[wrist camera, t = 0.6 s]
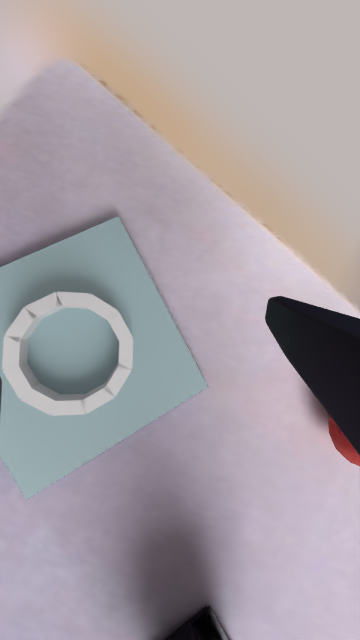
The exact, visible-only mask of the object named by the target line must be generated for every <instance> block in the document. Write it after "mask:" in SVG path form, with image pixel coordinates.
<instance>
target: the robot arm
mask: <svg viewBox="0 0 360 640" xmlns="http://www.w3.org/2000/svg"><path fill="white" fill-rule="evenodd" d="M265 320H266V323H267V325H268V327H269V329H270V331H271V332H272V334H273V336H274V337H275V339H276V341H277V342H278V344H279V346H280V348H281V349H282V351H283V353H284V354H285V356H286V357H287V359H288V360H289V361H290V363H291V364H292V365H293V367H294V368H295V370H296V371H297V372H298V374H299V375H300V376H301V378H302V379H303V380H304V382H305V383H306V384H307V386H308V387H309V388H310V390H311V391H312V392H313V394H314V395H315V396H316V398H317V399H318V400H319V402H320V403H321V405H322V406H323V407H324V409H325V410H326V411H327V413H328V414H329V415H330V417H331V418H332V419H333V421H334V422H335V423H336V425H337V426H338V427H339V429H340V430H341V431H342V433H343V434H344V435H345V437H346V438H347V440H348V441H349V442H350V444H351V445H352V446H353V448H354V449H355V450H356V452H357V453H358V454H359V456H360V319H359V318H355V317H352V316H349V315H345V314H342V313H338V312H335V311H331V310H328V309H324V308H321V307H317V306H314V305H311V304H307V303H304V302H300V301H297V300H293V299H290V298H286V297H283V296H277V297H272V298H270V299H269V300H268V304H267V310H266V316H265ZM1 395H2V380H1V377H0V414H1ZM207 614H208V615H207ZM206 615H207V616H206ZM166 640H229V639H228V637H227V635H226V633H225V632H224V630H223V628H222V626H221V625H220V623H219V621H218V619H217V618H216V616H215V614H214V612H213V611H212V609H211V608H210V607H205V608H203V609H202V610H201V611H200V612H198V613H197V614H196V615H195V616H194V617H192V618H191V619H190V620H189V621H188V622H186V623H185V624H184V625H183V626H181V627H180V628H179V629H178V630H177V631H175V632H174V633H173V634H172V635H170V636H169V637H168V638H167V639H166Z"/></svg>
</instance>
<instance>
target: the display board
mask: <svg viewBox="0 0 360 640" xmlns="http://www.w3.org/2000/svg"><path fill="white" fill-rule="evenodd" d="M0 377H1V380H2V395H1V414H0V457H1V459H2V461H3V462H4V464H5V465H6V467H7V469H8V470H9V472H10V474H11V475H12V477H13V478H14V480H15V482H16V483H17V485H18V487H19V488H20V490H21V492H22V493H23V495H24V496H25V498H26V500H27V499H29V498H30V497H32V496H34V495H35V494H37V493H38V492H40V491H42V490H43V489H45V488H46V487H48V486H50V485H51V484H53V483H54V482H56V481H58V480H59V479H61V478H62V477H64V476H66V475H67V474H69V473H70V472H72V471H74V470H75V469H77V468H79V467H80V466H82V465H83V464H85V463H87V462H88V461H90V460H91V459H93V458H95V457H96V456H98V455H99V454H101V453H103V452H104V451H106V450H107V449H109V448H111V447H112V446H114V445H115V444H117V443H119V442H120V441H122V440H123V439H125V438H127V437H128V436H130V435H132V434H133V433H135V432H136V431H138V430H140V429H141V428H143V427H144V426H146V425H148V424H149V423H151V422H152V421H154V420H156V419H157V418H159V417H160V416H162V415H164V414H165V413H167V412H168V411H170V410H172V409H173V408H175V407H176V406H178V405H180V404H181V403H183V402H185V401H186V400H188V399H189V398H191V397H193V396H194V395H196V394H197V393H199V392H201V391H202V390H204V389H205V388H207V387H208V385H207V383H206V381H205V379H204V377H203V376H202V374H201V372H200V370H199V368H198V366H197V364H196V362H195V360H194V358H193V357H192V355H191V353H190V351H189V349H188V347H187V345H186V343H185V341H184V339H183V338H182V336H181V334H180V332H179V330H178V328H177V326H176V324H175V322H174V320H173V319H172V317H171V315H170V313H169V311H168V309H167V307H166V305H165V303H164V301H163V300H162V298H161V296H160V294H159V292H158V290H157V288H156V286H155V284H154V282H153V281H152V279H151V277H150V275H149V273H148V271H147V269H146V267H145V265H144V263H143V262H142V260H141V258H140V256H139V254H138V252H137V250H136V248H135V246H134V244H133V243H132V241H131V239H130V237H129V235H128V233H127V231H126V229H125V227H124V225H123V223H122V222H121V220H120V218H119V216H117V217H115V218H113V219H110V220H108V221H106V222H104V223H101V224H99V225H97V226H94V227H92V228H90V229H87V230H85V231H83V232H80V233H78V234H76V235H73V236H71V237H69V238H66V239H64V240H62V241H60V242H57V243H55V244H53V245H50V246H48V247H46V248H43V249H41V250H39V251H36V252H34V253H32V254H29V255H27V256H25V257H23V258H20V259H18V260H16V261H13V262H11V263H9V264H6V265H4V266H2V267H0Z"/></svg>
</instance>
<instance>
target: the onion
mask: <svg viewBox="0 0 360 640" xmlns="http://www.w3.org/2000/svg"><path fill="white" fill-rule="evenodd" d="M328 424H329V434H330V436H331V439H332V441H333V443H334V446H335V448H336V449H337V450H338V451H339V452H340V453H341V454H342V455H343V457H345V458H346V459H347V460H348V461H350V462H351V463H353V464H356V465H358V466H360V456H359V454H358V453H357V452H356V450H355V449H354V448H353V446H352V445H351V444H350V442H349V441H348V440H347V438H346V437H345V435H344V434H343V433H342V431H341V430H340V429H339V427H338V426H337V425H336V423H335V422H334V421H333V419H332V418H331V417H330V418H329V422H328Z"/></svg>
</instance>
